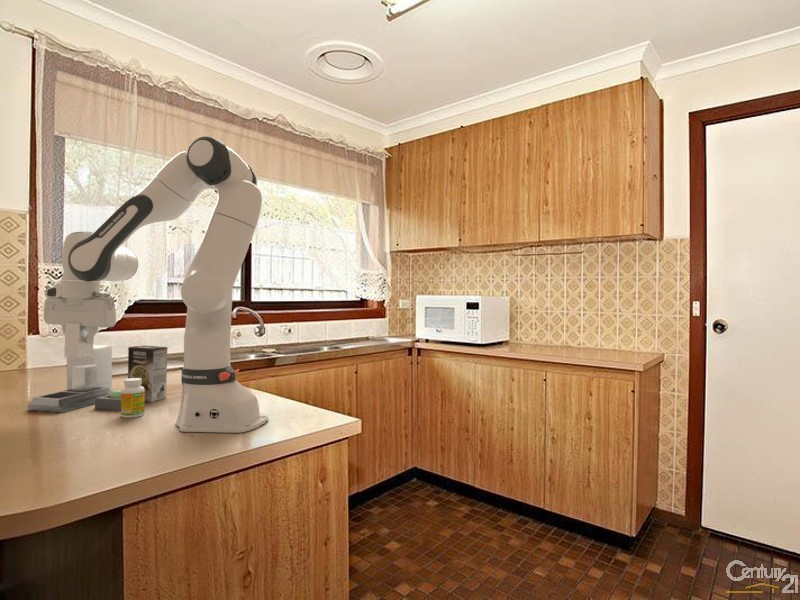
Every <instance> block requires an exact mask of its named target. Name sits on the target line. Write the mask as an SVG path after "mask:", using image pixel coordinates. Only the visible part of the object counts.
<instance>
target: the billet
mask: <svg viewBox="0 0 800 600" xmlns="http://www.w3.org/2000/svg"><path fill="white" fill-rule="evenodd" d="M88 332H89V331H87V326H82V325H81V324H78V323H66V325H65V335H64V354H63V355H64V357H66V358H67V357H78V358H79V357H86V356H93V345H94V342H93V343H84V337H86V336H87V334H88Z"/></svg>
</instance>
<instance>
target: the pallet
mask: <svg viewBox="0 0 800 600" xmlns="http://www.w3.org/2000/svg"><path fill="white" fill-rule="evenodd" d="M108 394H110V391H109V387H98V365H86V364H85V365H80V366H74V367H72V389H68V390H67V389H65V390H61V391H55V392H51V393H47V394H43V395H38V396H33V397H32V403H28V404H27V410H28V409H29V410H28V411H32V410H38V411H37V412H44V411H50V412H49V413H56V412H58V413H59V414H64V413H67V412H70V410H71V411H75V410H77V409H81V408H85V407H88V406H92V405H95V398H97V397H101V396H105V395H108Z"/></svg>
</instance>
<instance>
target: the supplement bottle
mask: <svg viewBox="0 0 800 600" xmlns="http://www.w3.org/2000/svg"><path fill="white" fill-rule="evenodd" d="M123 380H124V383H123V385H124V387H122V389H121V390H122V391H121V410H120V415H121V418H125V419H129V418H139V417H141V416H144V414H145V401H144V399H145V389H144V387H142V386H141V384H142V379H141V378H129V379H128V378H125V379H123Z"/></svg>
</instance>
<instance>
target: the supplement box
mask: <svg viewBox="0 0 800 600" xmlns="http://www.w3.org/2000/svg"><path fill="white" fill-rule="evenodd" d="M112 358H113V346H112V345H99V344H96V345H95V344H93V356H86V357H79V358H78V357H66V390H68V389H72V367H74V366H80V365H85V364H86V365H98V387H109V392H111V391H113V387H112V386H113V383H112V381H113V380H112V379H113V376H112V375H113V372H112V370H113V369H112V367H113V363H112V362H113V359H112Z"/></svg>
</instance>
